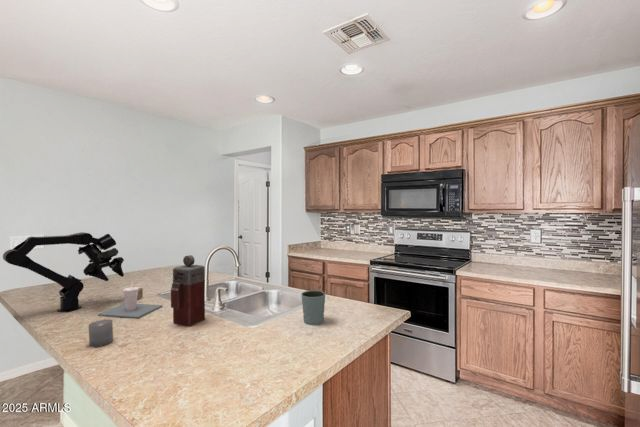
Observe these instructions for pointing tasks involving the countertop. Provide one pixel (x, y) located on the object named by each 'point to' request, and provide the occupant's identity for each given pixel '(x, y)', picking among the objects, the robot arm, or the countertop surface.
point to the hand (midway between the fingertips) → (115, 278)
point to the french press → (188, 293)
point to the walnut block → (140, 293)
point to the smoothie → (131, 297)
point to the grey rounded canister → (100, 333)
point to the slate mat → (123, 313)
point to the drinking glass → (313, 307)
